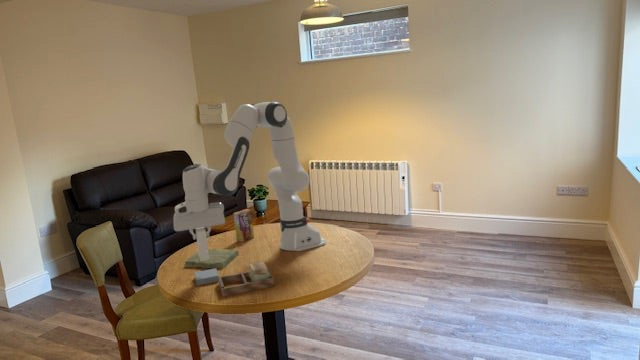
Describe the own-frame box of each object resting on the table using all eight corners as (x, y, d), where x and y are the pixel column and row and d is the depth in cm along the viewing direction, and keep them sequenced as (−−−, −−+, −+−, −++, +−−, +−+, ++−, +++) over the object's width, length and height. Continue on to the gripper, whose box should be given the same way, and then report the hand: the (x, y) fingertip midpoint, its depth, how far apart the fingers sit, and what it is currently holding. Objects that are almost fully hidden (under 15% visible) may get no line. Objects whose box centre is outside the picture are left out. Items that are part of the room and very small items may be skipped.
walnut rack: (267, 274, 189) (266, 266, 189) (274, 285, 177) (273, 277, 177) (218, 284, 183) (217, 276, 183) (222, 296, 171) (221, 288, 171)
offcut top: (263, 267, 186) (263, 261, 185) (267, 273, 179) (267, 268, 178) (250, 270, 184) (249, 264, 184) (253, 276, 177) (253, 270, 176)
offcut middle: (263, 272, 187) (262, 267, 186) (269, 279, 179) (269, 273, 179) (249, 276, 184) (248, 270, 184) (255, 282, 177) (254, 276, 176)
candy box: (249, 236, 245) (246, 208, 242) (254, 237, 242) (251, 209, 240) (236, 241, 239) (232, 212, 236) (241, 242, 236) (238, 213, 233)
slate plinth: (216, 273, 195) (216, 268, 194) (219, 281, 186) (218, 275, 186) (195, 277, 192) (194, 272, 192) (196, 285, 184) (195, 279, 183)
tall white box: (207, 252, 192) (203, 225, 190) (209, 259, 184) (205, 230, 181) (198, 254, 191) (195, 226, 189) (200, 261, 182) (196, 232, 180)
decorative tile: (201, 255, 222) (200, 248, 222) (239, 255, 218) (238, 247, 217) (182, 269, 204) (180, 262, 204) (223, 270, 200) (222, 262, 199)
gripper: (222, 199, 189) (226, 231, 192) (171, 207, 183) (175, 240, 186) (224, 202, 184) (228, 235, 186) (171, 210, 177) (176, 244, 180)
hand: (201, 237), depth 186 cm, fingers closed on tall white box, 3 cm apart
